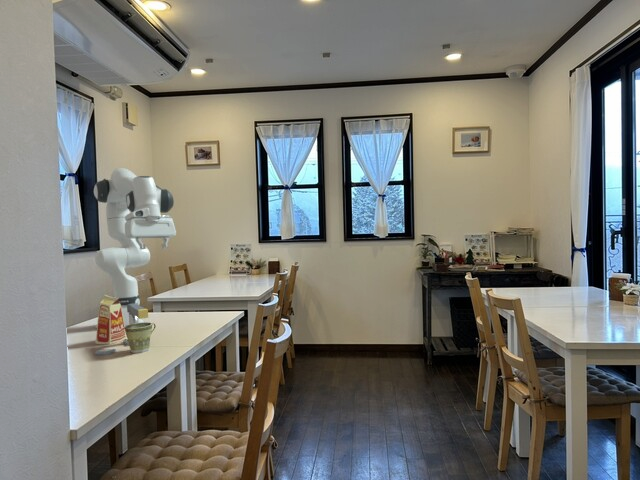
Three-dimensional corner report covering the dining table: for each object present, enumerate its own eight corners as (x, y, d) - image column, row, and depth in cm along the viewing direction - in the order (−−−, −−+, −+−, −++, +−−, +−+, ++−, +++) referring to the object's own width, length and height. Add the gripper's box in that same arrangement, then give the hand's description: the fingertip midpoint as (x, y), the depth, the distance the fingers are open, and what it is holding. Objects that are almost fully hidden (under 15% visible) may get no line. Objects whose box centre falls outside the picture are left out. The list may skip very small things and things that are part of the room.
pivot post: (123, 342, 192) (120, 312, 191) (142, 338, 196) (140, 309, 196) (127, 346, 185) (125, 315, 185) (147, 342, 190) (145, 312, 189)
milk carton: (95, 343, 192) (92, 296, 191) (112, 337, 201) (109, 292, 200) (112, 344, 189) (108, 296, 188) (128, 338, 198) (125, 293, 197)
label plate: (95, 354, 175) (95, 351, 175) (102, 351, 179) (102, 348, 179) (109, 354, 174) (109, 351, 174) (116, 351, 178) (115, 348, 178)
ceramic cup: (138, 355, 171) (136, 329, 170) (120, 352, 175) (118, 327, 175) (165, 346, 182) (163, 321, 181) (148, 344, 187) (146, 319, 186)
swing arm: (126, 311, 191) (125, 304, 191) (137, 310, 193) (136, 302, 193) (138, 319, 174) (137, 310, 174) (149, 317, 176) (149, 309, 176)
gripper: (167, 217, 191) (173, 249, 189) (120, 216, 175) (125, 251, 173) (176, 213, 187) (181, 246, 185) (128, 212, 171) (133, 248, 169)
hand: (154, 248), depth 179 cm, fingers open, 8 cm apart
